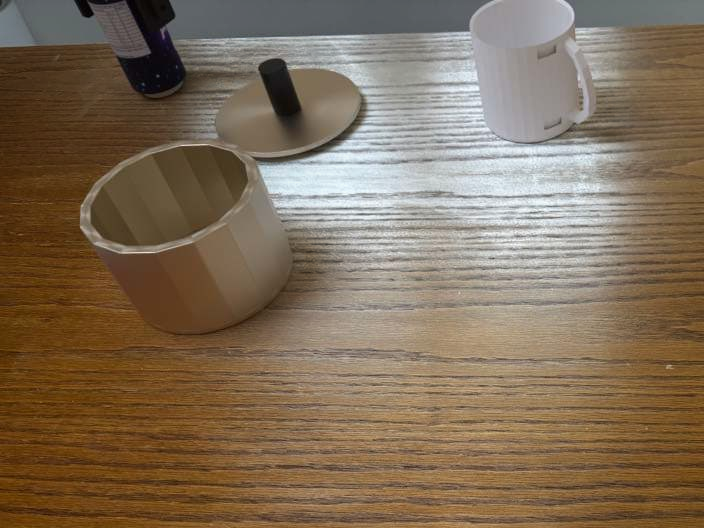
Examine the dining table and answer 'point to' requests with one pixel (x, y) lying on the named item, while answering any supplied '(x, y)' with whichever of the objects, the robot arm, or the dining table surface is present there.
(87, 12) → the robot arm
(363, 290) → the dining table surface
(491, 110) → the mug
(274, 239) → the pot
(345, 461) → the dining table surface
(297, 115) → the lid
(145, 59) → the beverage can
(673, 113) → the dining table surface
